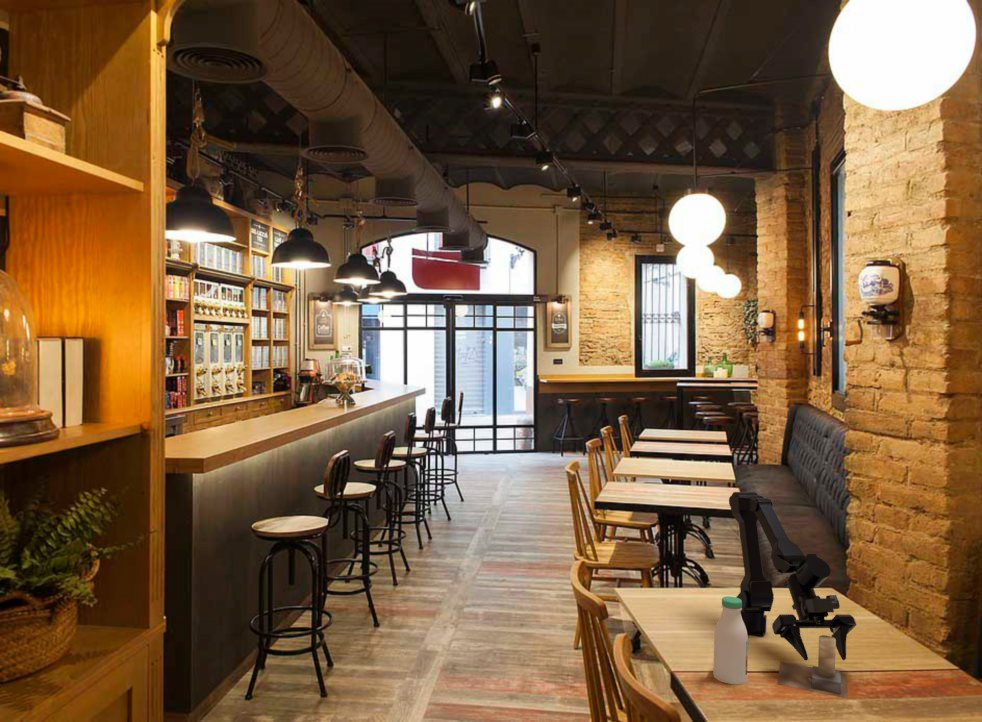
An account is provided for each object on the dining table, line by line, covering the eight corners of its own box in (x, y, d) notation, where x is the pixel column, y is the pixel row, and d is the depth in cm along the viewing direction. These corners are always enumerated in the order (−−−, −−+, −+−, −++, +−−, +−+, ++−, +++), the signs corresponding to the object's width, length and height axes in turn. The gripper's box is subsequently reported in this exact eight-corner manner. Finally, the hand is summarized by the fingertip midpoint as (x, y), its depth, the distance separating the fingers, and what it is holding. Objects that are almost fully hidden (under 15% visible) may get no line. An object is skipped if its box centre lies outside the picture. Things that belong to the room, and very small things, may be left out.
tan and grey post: (812, 688, 167) (813, 641, 167) (812, 676, 173) (813, 630, 173) (840, 693, 164) (841, 646, 164) (839, 681, 171) (841, 635, 171)
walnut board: (777, 689, 169) (777, 684, 169) (780, 666, 181) (780, 661, 181) (848, 703, 162) (848, 698, 162) (846, 678, 175) (846, 673, 175)
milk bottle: (742, 692, 167) (744, 607, 167) (709, 683, 171) (711, 600, 171) (750, 679, 173) (752, 597, 173) (717, 671, 177) (719, 591, 177)
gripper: (778, 581, 174) (799, 646, 163) (853, 582, 175) (878, 645, 164) (763, 602, 182) (782, 664, 171) (835, 602, 183) (858, 664, 172)
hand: (825, 659), depth 169 cm, fingers open, 9 cm apart
